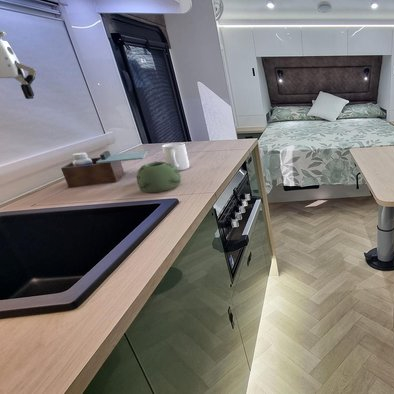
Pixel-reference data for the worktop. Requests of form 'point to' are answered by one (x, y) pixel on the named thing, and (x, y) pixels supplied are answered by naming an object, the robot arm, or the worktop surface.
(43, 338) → the worktop surface
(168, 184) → the green planter pot
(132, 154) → the sliding box lid
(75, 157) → the pill bottle
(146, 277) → the worktop surface
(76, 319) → the worktop surface
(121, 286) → the worktop surface
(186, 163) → the mug
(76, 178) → the box
